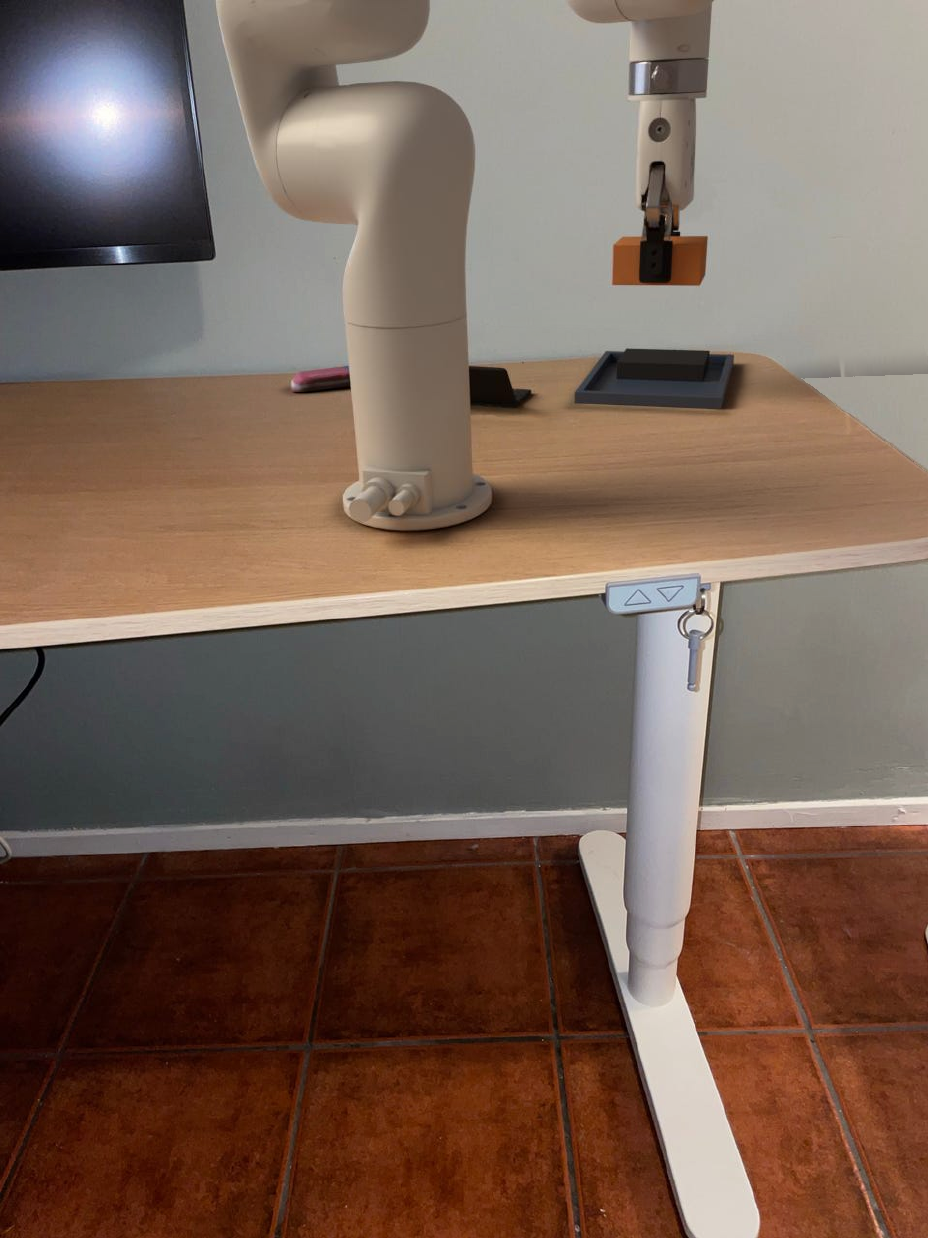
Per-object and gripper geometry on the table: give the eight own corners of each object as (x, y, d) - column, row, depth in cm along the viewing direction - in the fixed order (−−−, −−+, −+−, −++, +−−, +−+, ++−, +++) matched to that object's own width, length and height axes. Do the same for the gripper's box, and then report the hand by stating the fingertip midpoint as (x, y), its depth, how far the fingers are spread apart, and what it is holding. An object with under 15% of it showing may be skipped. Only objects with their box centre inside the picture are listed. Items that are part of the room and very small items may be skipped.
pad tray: (720, 413, 105) (722, 397, 104) (574, 407, 109) (574, 391, 108) (733, 368, 121) (734, 354, 121) (605, 364, 126) (605, 350, 125)
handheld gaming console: (533, 377, 114) (513, 318, 106) (531, 429, 111) (510, 373, 103) (437, 390, 117) (410, 333, 109) (432, 441, 114) (404, 387, 106)
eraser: (293, 394, 119) (291, 380, 118) (289, 386, 122) (287, 371, 121) (386, 382, 121) (384, 368, 120) (380, 374, 124) (378, 360, 123)
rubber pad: (703, 381, 114) (704, 364, 114) (616, 378, 117) (616, 361, 116) (708, 367, 120) (709, 350, 119) (625, 364, 123) (626, 348, 122)
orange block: (700, 285, 102) (702, 244, 100) (611, 285, 104) (612, 244, 102) (705, 275, 107) (707, 235, 105) (621, 275, 109) (622, 236, 107)
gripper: (698, 81, 89) (686, 292, 97) (714, 80, 103) (702, 263, 111) (614, 85, 91) (609, 291, 99) (641, 83, 105) (635, 263, 114)
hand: (659, 274), depth 105 cm, fingers closed on orange block, 6 cm apart
